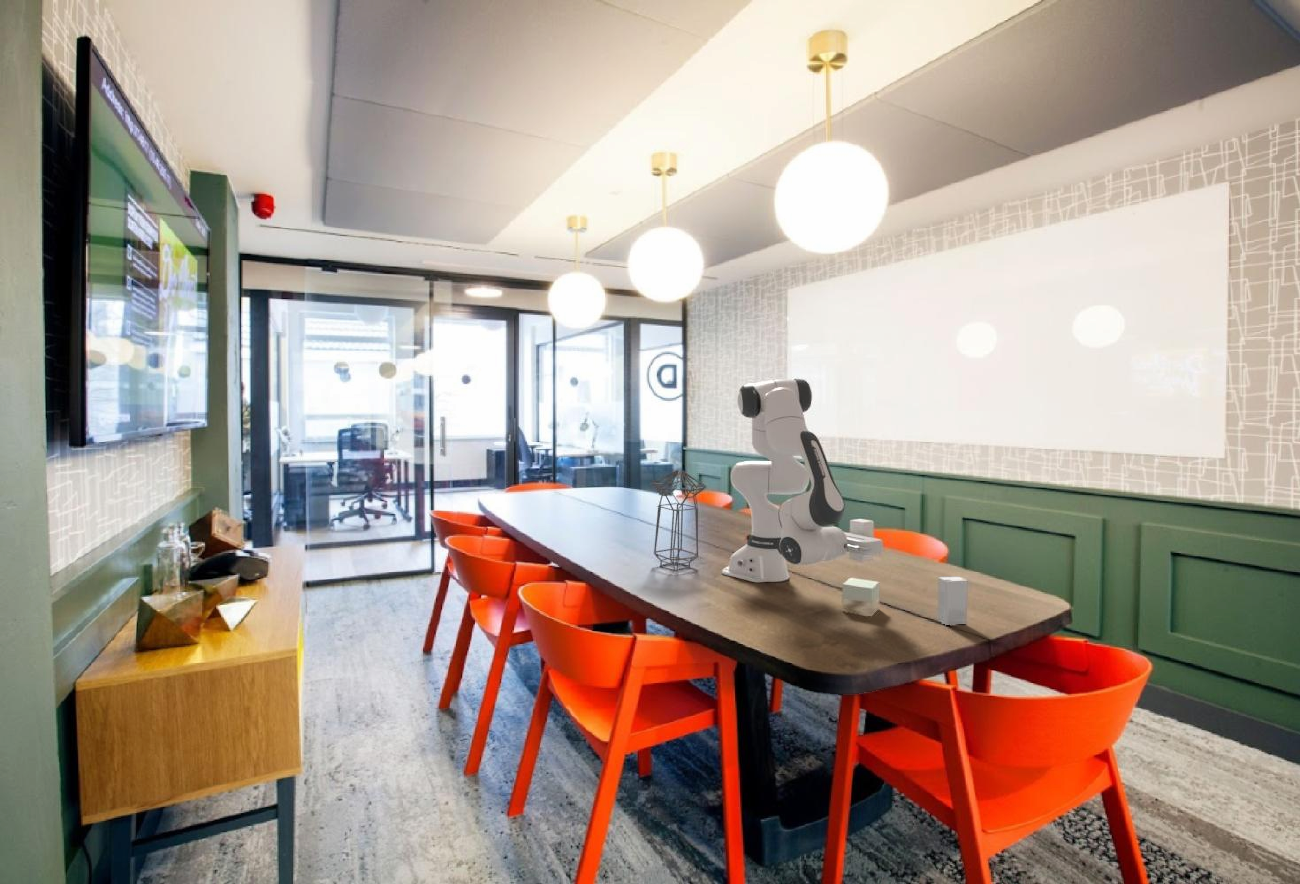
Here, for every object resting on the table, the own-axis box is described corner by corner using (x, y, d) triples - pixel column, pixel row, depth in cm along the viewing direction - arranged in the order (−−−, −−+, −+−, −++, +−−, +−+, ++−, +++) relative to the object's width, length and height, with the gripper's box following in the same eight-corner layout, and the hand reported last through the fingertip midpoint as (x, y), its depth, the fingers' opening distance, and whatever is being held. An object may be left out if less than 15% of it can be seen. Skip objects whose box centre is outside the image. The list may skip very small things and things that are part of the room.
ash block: (841, 612, 175) (841, 598, 175) (850, 605, 181) (851, 591, 181) (870, 617, 170) (870, 603, 170) (879, 610, 177) (879, 596, 177)
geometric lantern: (676, 559, 233) (680, 466, 231) (706, 569, 221) (710, 471, 219) (644, 565, 223) (647, 468, 221) (673, 576, 211) (677, 473, 209)
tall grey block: (862, 562, 172) (863, 522, 171) (849, 559, 175) (850, 520, 175) (872, 560, 174) (873, 521, 174) (859, 557, 178) (860, 518, 177)
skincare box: (957, 620, 168) (959, 575, 168) (967, 626, 164) (969, 580, 163) (935, 620, 168) (937, 576, 167) (945, 626, 163) (946, 580, 162)
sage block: (842, 598, 175) (842, 584, 174) (850, 591, 181) (850, 577, 181) (871, 603, 170) (872, 588, 170) (878, 595, 177) (878, 581, 177)
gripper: (863, 538, 159) (896, 532, 166) (802, 525, 175) (834, 521, 183) (863, 563, 159) (896, 556, 167) (801, 548, 176) (834, 542, 184)
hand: (863, 538), depth 175 cm, fingers closed on tall grey block, 4 cm apart
